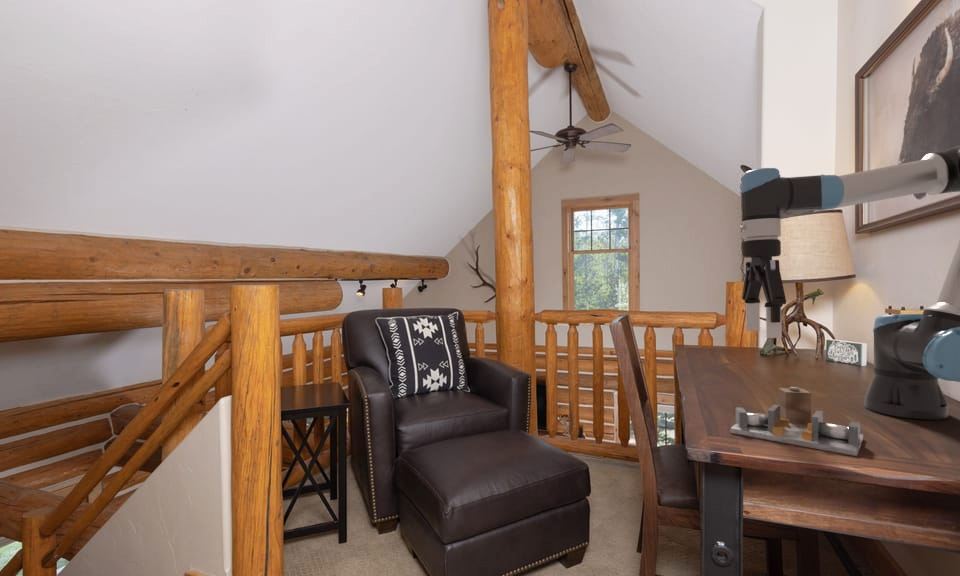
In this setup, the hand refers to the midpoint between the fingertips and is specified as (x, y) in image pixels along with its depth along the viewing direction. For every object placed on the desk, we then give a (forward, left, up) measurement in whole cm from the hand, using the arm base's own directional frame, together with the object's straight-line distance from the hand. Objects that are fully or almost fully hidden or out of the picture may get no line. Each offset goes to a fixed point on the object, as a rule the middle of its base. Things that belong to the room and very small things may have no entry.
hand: (762, 334), depth 112 cm
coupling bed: (-2, +11, -19) cm, 22 cm away
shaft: (+5, +9, -18) cm, 21 cm away
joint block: (-6, 0, -19) cm, 20 cm away
